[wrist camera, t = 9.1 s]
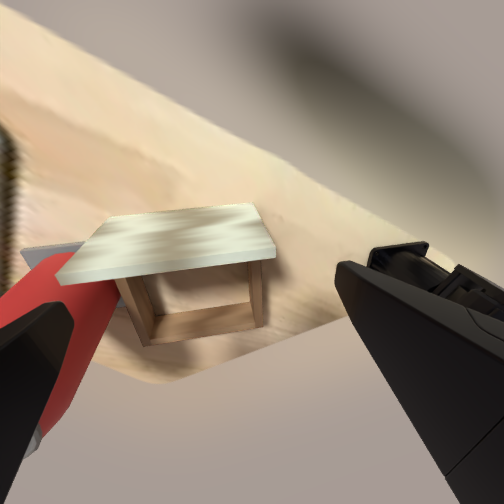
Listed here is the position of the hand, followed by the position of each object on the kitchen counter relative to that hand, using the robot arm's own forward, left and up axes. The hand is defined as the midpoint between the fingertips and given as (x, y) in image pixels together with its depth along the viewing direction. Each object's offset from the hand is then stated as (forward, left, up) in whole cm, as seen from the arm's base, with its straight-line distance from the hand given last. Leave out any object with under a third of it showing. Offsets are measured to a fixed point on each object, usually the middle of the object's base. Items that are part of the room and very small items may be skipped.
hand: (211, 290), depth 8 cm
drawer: (+2, +8, -13) cm, 15 cm away
